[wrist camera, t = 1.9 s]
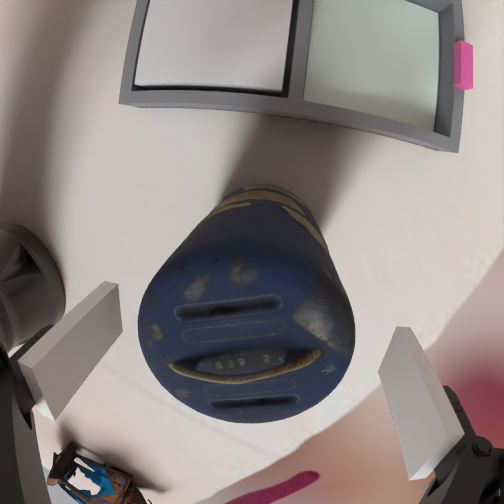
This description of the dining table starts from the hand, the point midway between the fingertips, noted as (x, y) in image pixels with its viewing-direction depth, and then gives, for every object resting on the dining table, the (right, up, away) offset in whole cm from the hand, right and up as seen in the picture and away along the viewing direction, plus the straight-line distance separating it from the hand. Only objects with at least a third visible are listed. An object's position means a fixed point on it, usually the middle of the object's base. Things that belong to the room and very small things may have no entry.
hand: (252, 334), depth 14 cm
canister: (+1, +5, +14) cm, 15 cm away
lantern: (-30, -44, +35) cm, 64 cm away
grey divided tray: (+4, +22, +8) cm, 23 cm away
